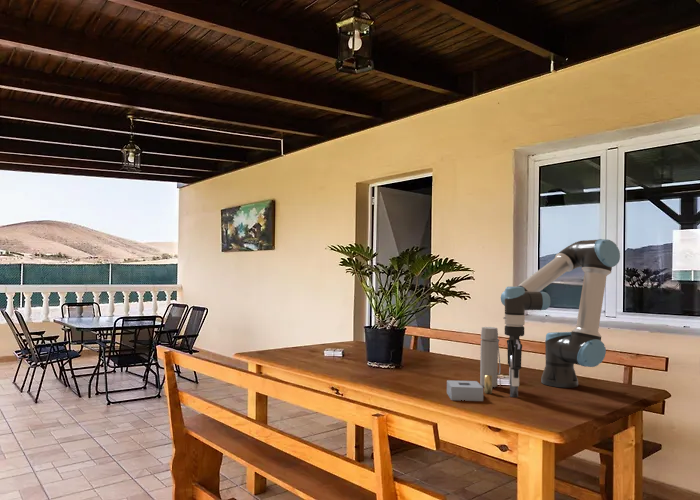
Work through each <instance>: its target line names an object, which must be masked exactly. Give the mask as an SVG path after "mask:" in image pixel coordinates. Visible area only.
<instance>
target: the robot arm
mask: <svg viewBox="0 0 700 500" xmlns="http://www.w3.org/2000/svg"><path fill="white" fill-rule="evenodd" d="M620 259H621V253H620V248H619V247H618V245H617V244H616V242H614V241H613V240H610V239H602V238H599V239H589V240H588V239H587V240H578V241H575V242H573V243H571V244H569V245H568V246H566V247H565V248H563V249H562V250H560V251H559V252H558V253H556V254H555V256H554V258H553V259H552V260H550V262H548V263H547V264H545V265H544V266H542V267H541V268H540V269H538V270H537V271H535V273H533V274H532V275H530V276H529V277H527V278H526V279H525V280H523V281H522V282H521V283H519V284H518V285H517V286H506V287H505V290H504V291H502V293H501V295H500V301H501V302H500V303H501V304H502V305H503V306H504V316H503V317H502V318H503V320H504V324H505V326H504V335H506V336H507V337H508V339H507V340H506V347H507V350H506V351H507V365H508V367H509V369H508V370H509V371H508V375H509V376H508V377H509V378H508V384H509V385H510V355H512V363H513V368H511V369H512V386H518V387H520V370H521V369H522V353H523V352H522V351H523V344H522V341H521V340H520V339H521V338H520V337H523V336H525V324H526V323H525V322H526V321H525V311H544V310H545V311H546V310H548V309H549V307H550V306H551V297H550V294H548V292H545V291H542V290H544V289H545V288H546V287H547V286H549V285H550V284H552V283H553V282H554V281H556V280H557V279H558V278H559V277H561V276H562V275H564V274H565V273H567V272H568V273H569V272H572V271H573V270H575V269H577V268H581V270H582V272H583V273H584V275H583V281H582V288H581V293H580V294H581V295H580V301H579V307H578V313H577V314H578V315H577V320H576V326H575V328H574V329H572V330H571V331H561V332H559V331H558V332H557V331H555V332H547V333H546V335H545V341H544V342H545V343H544V345H545V348H544V350H545V366H544V368H543V372H542V375H541V380H540V381H541V382H540V383H542V384H543V385H545V386H549V387H556V388H577V387H579V379H578V377H577V373H576V371H575V365H578V366H581V367H584V368H585V367H586V368H595V367H597V366H599V364H600V365H601V364H602V362H603V361H604V360H605V357H606V353H607V348H606V345H605V343H604V342H603V341H602V335H601V334H600V333H599V329H600V320H601V317H602V316H601V315H602V310H603V309H602V308H603V302H604V295H605V288H606V284H607V283H606V282H607V276H609V275H610V274H612V269H613V267H615V266H617V265H618V264H619V262H620Z"/></svg>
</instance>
